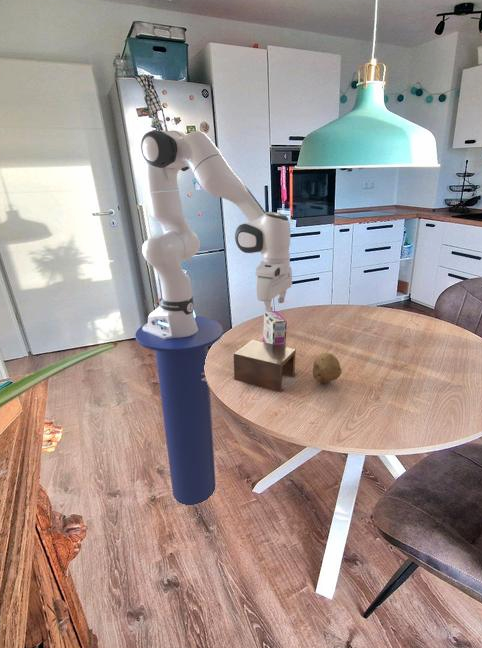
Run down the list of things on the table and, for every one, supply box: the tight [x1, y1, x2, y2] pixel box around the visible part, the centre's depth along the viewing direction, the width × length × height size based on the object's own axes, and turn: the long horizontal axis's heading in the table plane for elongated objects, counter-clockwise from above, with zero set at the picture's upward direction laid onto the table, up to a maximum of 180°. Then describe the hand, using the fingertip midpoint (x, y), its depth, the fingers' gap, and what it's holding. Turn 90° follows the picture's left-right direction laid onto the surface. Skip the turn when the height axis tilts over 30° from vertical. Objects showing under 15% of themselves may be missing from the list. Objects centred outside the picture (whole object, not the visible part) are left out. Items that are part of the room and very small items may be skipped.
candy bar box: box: [262, 310, 288, 347], centre depth 135 cm, size 11×5×16 cm, turn 21°
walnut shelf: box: [233, 339, 297, 393], centre depth 125 cm, size 16×12×9 cm
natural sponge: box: [311, 352, 343, 383], centre depth 123 cm, size 9×9×10 cm
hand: (275, 306), depth 130 cm, fingers open, 8 cm apart
